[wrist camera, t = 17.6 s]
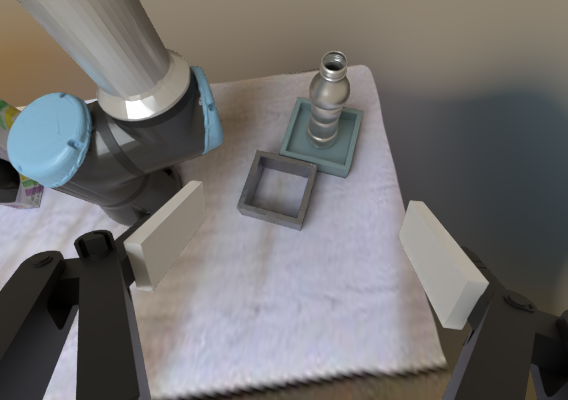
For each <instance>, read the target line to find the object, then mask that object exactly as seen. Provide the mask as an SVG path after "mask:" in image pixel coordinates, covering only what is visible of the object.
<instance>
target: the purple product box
mask: <svg viewBox="0 0 568 400" xmlns="http://www.w3.org/2000/svg"><path fill="white" fill-rule="evenodd" d="M20 113H21V111H20V110H18V109H17V108H15V107H13V106H12V105H10V104H8V103H7V102H5V101H3V100H2V99H0V205H4V206H8V207H12V208H17V209H27V208H38V207H39V206H40V201H41V196H42V191H43V185H41V184H40V183H39V182H37V181H34V180H32V179H30V178H28V177H26V176H24V175H22V174H21V173H19V172H18V171H17V170H16V169H15V168H14V167H13V165H12V164H11V162H10V160H9V157H8V153H7V139H8V135H9V132H10V129H11V127H12V125H13V123H14V122H15V121H16V119H17V117H18V115H19V114H20Z"/></svg>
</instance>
